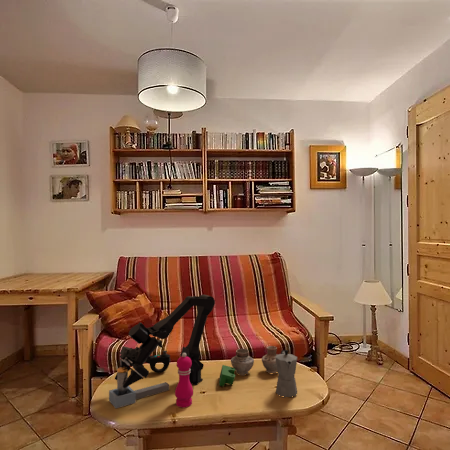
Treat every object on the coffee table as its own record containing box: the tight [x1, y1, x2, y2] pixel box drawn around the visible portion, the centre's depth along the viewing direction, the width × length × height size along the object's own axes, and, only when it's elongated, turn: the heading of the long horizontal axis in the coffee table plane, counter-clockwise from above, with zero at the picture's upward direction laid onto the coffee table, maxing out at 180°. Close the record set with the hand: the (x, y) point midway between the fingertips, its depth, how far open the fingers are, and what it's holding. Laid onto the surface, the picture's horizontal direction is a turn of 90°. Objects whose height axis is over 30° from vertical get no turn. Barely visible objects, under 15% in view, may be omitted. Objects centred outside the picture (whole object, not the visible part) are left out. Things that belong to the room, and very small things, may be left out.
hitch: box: [108, 381, 170, 409], centre depth 146 cm, size 24×8×4 cm, turn 126°
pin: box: [116, 366, 129, 396], centre depth 142 cm, size 4×4×13 cm
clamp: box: [218, 364, 236, 387], centre depth 160 cm, size 12×6×9 cm, turn 173°
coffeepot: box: [275, 349, 298, 398], centre depth 150 cm, size 15×9×18 cm, turn 2°
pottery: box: [230, 345, 278, 376], centre depth 171 cm, size 11×25×12 cm, turn 95°
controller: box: [145, 350, 171, 374], centre depth 171 cm, size 4×12×10 cm, turn 103°
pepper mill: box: [174, 353, 194, 408], centre depth 140 cm, size 7×7×20 cm
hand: (119, 383), depth 141 cm, fingers open, 9 cm apart
